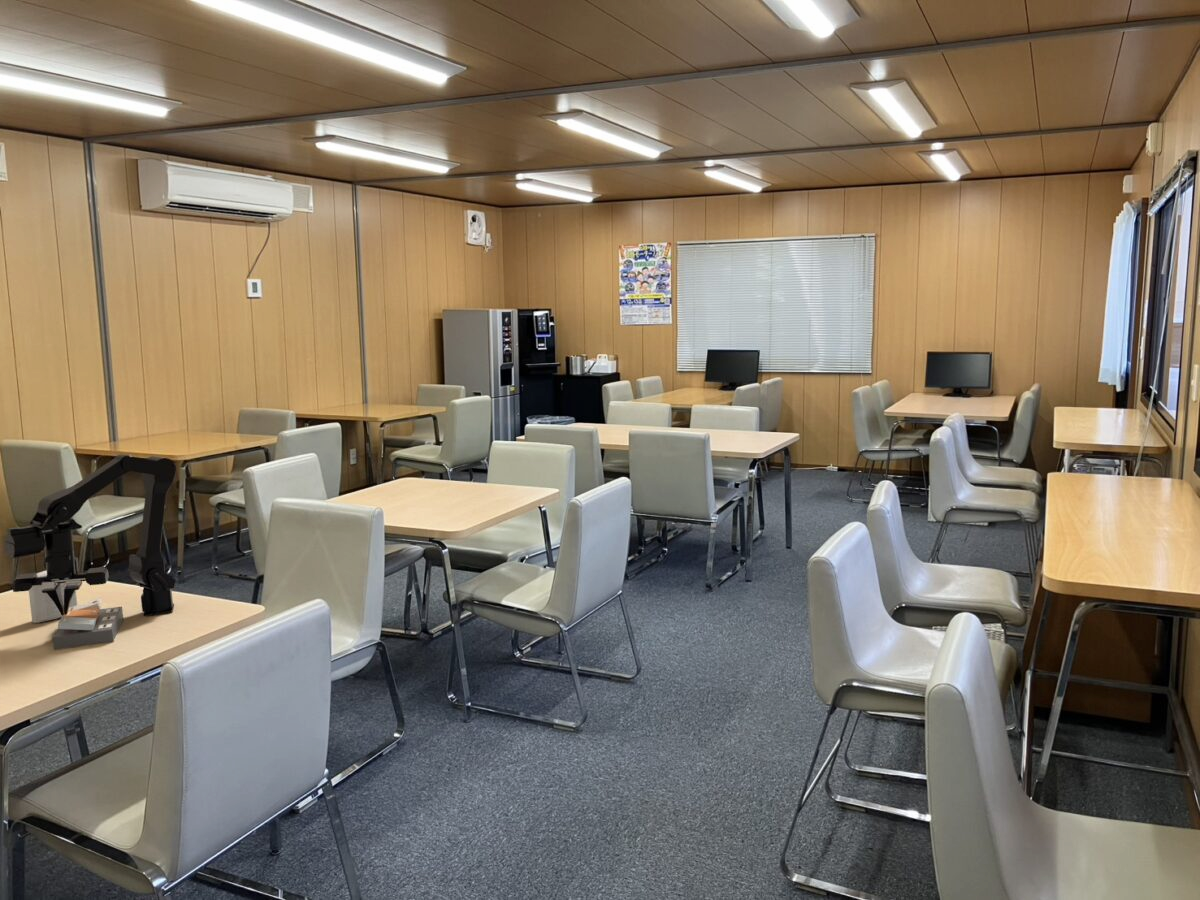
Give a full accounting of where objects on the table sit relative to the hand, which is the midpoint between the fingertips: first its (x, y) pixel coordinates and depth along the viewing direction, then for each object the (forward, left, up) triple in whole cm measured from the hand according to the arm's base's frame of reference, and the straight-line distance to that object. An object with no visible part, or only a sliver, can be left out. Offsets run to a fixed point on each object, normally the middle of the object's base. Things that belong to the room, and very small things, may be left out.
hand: (64, 614), depth 211 cm
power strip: (-5, 0, -5) cm, 7 cm away
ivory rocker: (-3, -6, -1) cm, 7 cm away
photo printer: (+5, -17, -6) cm, 19 cm away
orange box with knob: (-3, 0, -1) cm, 4 cm away
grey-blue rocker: (-3, +6, -1) cm, 7 cm away
